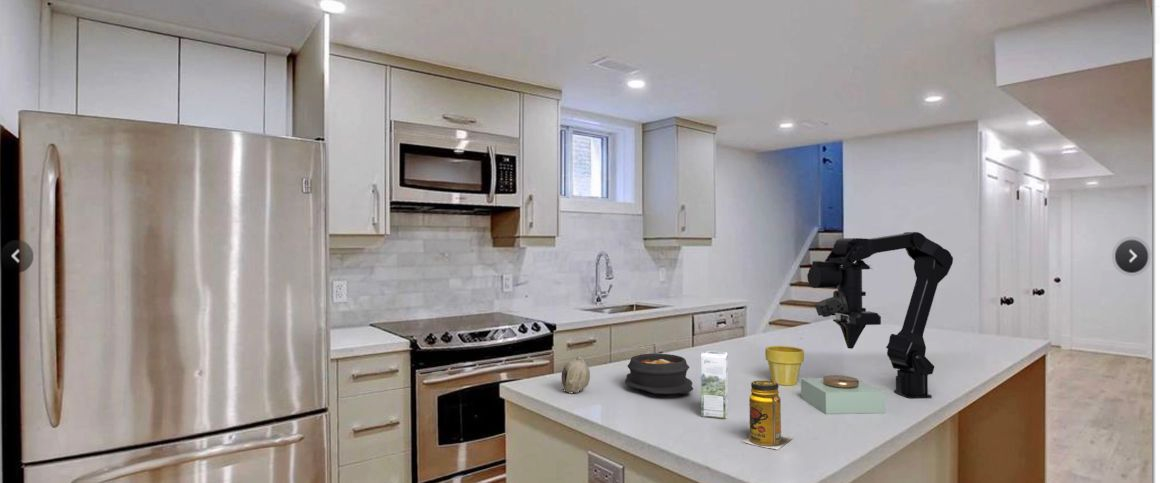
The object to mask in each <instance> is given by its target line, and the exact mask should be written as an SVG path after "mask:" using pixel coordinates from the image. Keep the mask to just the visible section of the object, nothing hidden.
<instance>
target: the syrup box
mask: <svg viewBox="0 0 1160 483" xmlns="http://www.w3.org/2000/svg"><path fill="white" fill-rule="evenodd" d="M728 357H729V356H728V352H726V351H725V352H724V351H710V350H709V351H708V350H703V351H702V352H701V354H700V396H701V397H700V400H701V401H700V405H701V406H700V409H701V410H700V411H701V413H700V414H701V417H702V418H703V417H704V418H711V419H712V418H713V419H727V417H728V416H727V415H728V412H729V403H728V400H729V398H728V397H729V396H728V394H729V393H728V392H729V391H728V390H729V389H728V382H729V380H728V378H729V377H728V376H729V375H728V374H729V373H728V369H729V368H728V366H729V364H728Z"/></svg>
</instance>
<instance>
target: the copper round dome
mask: <svg viewBox="0 0 1160 483" xmlns="http://www.w3.org/2000/svg"><path fill="white" fill-rule="evenodd" d="M822 378H823V383H824V384H826V385H828V386H833V387H839V388H855V387H858V386H859V380H860V379H858V378H856V377H854V376H853V377H852V376H847V375H846V376H845V375H839V374H838V375H836V374H835V375H834V374H831V375H824V376H823V377H822Z"/></svg>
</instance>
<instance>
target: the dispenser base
mask: <svg viewBox="0 0 1160 483" xmlns="http://www.w3.org/2000/svg"><path fill="white" fill-rule="evenodd" d="M858 380H859V386H858V387H855V388H839V387H833V386H828V385H826V384H824V383H823V377H821V378H818V377H815V378H814V377H813V378H809V377H808V378H800V398H801V399H802V400H803V401H805V402H806V403H808V404H809V405H811V406H813V407H814V408H816V409H817V410H819V411H821V412H822V413H824V414H825V415H841V414H842V415H846V414H852V415H853V414H885V412H886V411H885V409H886V408H885V407H886V405H885V404H886V403H885V402H886V400H885V399H886V398H885V391H884V390H881V389H879V388H877V387H875V386H873V385H871V384H868V383H867V382H865V381H862V380H860V379H858Z"/></svg>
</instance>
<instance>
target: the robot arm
mask: <svg viewBox="0 0 1160 483" xmlns="http://www.w3.org/2000/svg"><path fill="white" fill-rule="evenodd" d="M904 249H905V251H906V254H907V255H908V257H909V258H910V259H911V260H913V262H914V264H913V270H914V274H915V277H916V280H915V283H914V286H913V290H912V294H911V297H910V300H909V304H908V306H907V309H906V314H905V317H904V321H903V325H902V328H901V330H900V331H899V332H897V334H895V333H891V334H890V336H889V340H888V343H887V345H886V347H885V348H886V349H887V352H886V353H887V354H886V355H887V357H888V359H889V361H890V363H891V366H892V368H893V369H895V370H896V369H897V371H896V372H897V373H896V374H897V375H896V376H895V389H894V390H893V392H894V393H896V394H899V395H901V396H902V397H906V398H908V399H914V398H915V399H916V398H917V399H919V398H921V399H922V398H925V399H926V398H932V396H933V395H932V394H929V392H928V389H929V387H928V386H929V384H928V383H929V382H928V381H929V380H928V375H933V374H934V371H935V370H934V369H935V365H934V364H933V363H932V362H931V361H930V360H929V359H928V358H927V357H926V351H927V347H926V342H925V339H924V332H925V329H926V325H927V322H928V319H929V316H930V312H931V308H932V305H933V301H934V298H935V295H936V292H937V288H938V285H939V283H940V282H941V281H942V280H943V279H944V278H945V277H946V276H948V274H949V273H950V270H951V268H952V265H953V261H954V257H953V255H952V253H951V252H950V251H949V250H948V249H947V248H944V247H943V246H941V245H940V244H939V243H936V242H934V241H932V240H931V239H929V238H927V237H926V236H925V235H924V234H922V233H921V232H918V231H909V232H908V231H906V232H902V233H898V234H893V235H892V234H891V235H884V236H879V237H873V238H862V237H860V238H859V237H858V238H856V237H855V238H854V237H853V238H852V237H851V238H848V237H847V238H845V237H844V238H839V239H837V240H836V241H835V242H834V244H833V248H832V250H831V251H830V253H829V254H828V255H827V257H826V258H825V260H824V261H820V260H815V261H812V266H810V268H809V270H808V273H807V274H806V277H807V282H808V284H809V286H810V287H811V288H813V289H831V288H832V289H835V288H837V290H834V291H833V293H832V295H833V296H832V297H827V298H825V299H823V300H820V301H818V302H815V303H814V307H815V310H816V313H817V315H818V317H820V316H821V317H822V318H827V317H828V318H829V317H831V316H835V319H834V318H833V319H832V320H833V322H834V323H835V324H837V325H838V326H839V327H840V330H841V332H842V334H843V335H842V336H843V338H844V341H845V345H846V348H847V349H852V350H853V349H854V347H855V345H856V344H857V341H858V340H859V338H860V337H861V334H862V333H863V331H864V329H865V327H867V326H876V325H877V326H878V325H882V316H881V315H880V314H879V313H878V312H873V311H871V310H870V311H867V307H863V297H866V291H863V270H870V269H871V267H870V265H868V264H867V263H866V262H865V261H864V260H865V259H868V258H870V257H872V256H873V255H875V254H877V253H884V252H891V251H897V250H904Z"/></svg>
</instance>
